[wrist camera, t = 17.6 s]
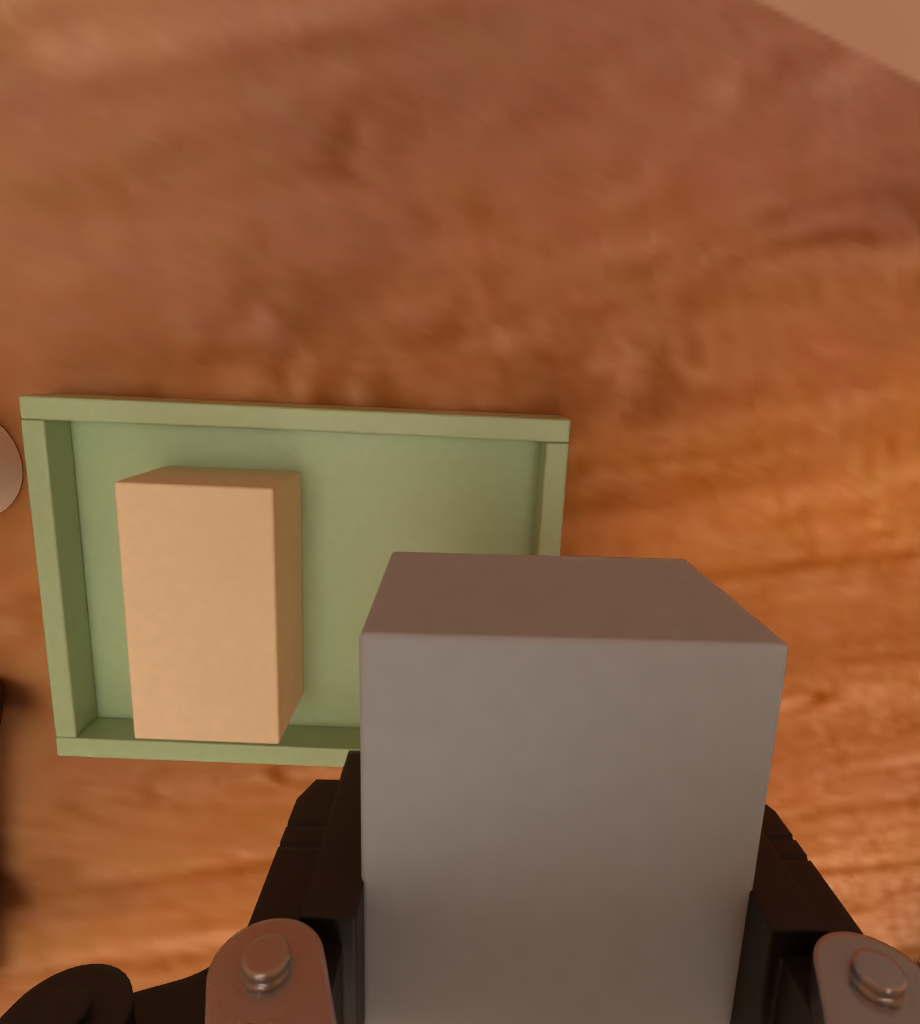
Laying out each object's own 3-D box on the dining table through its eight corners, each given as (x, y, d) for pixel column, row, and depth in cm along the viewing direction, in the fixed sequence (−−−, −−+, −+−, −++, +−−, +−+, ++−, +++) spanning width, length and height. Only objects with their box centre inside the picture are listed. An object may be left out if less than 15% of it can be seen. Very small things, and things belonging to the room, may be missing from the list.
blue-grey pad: (391, 549, 11) (358, 633, 7) (685, 557, 11) (793, 645, 7) (390, 981, 13) (364, 1210, 9) (639, 988, 13) (705, 1217, 9)
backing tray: (56, 392, 23) (16, 395, 21) (561, 415, 23) (571, 419, 21) (88, 725, 26) (56, 756, 24) (536, 743, 26) (542, 775, 24)
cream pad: (164, 465, 23) (112, 481, 20) (301, 471, 23) (273, 488, 20) (178, 688, 25) (133, 739, 21) (304, 693, 25) (279, 745, 22)
